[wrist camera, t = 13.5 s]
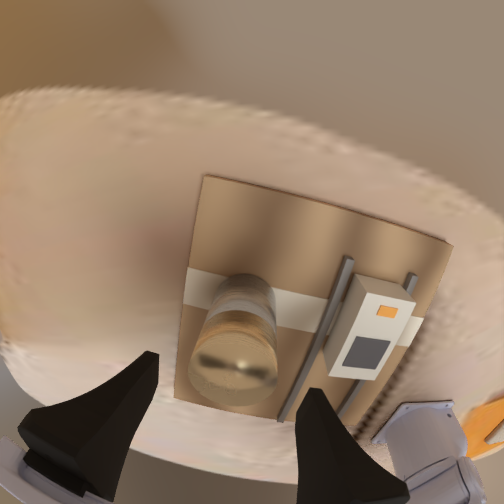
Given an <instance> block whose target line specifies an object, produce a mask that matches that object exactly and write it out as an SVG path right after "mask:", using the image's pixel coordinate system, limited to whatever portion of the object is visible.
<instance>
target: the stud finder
mask: <svg viewBox="0 0 504 504" xmlns="http://www.w3.org/2000/svg"><path fill="white" fill-rule="evenodd" d="M415 305H416V302H415V301H414V300H413V298H412V297H411V296H410V295H409V294H408V293H407V292H406V291H405V289H404V288H403V287H402V286H401V285H400V284H397V283H392V282H388V281H384V280H380V279H376V278H371V277H367V276H363V275H359V274H355V273H354V276H353V279H352V281H351V284H350V287H349V289H348V292H347V294H346V297H345V299H344V302H343V304H342V307H341V309H340V312H339V314H338V317H337V319H336V321H335V324H334V326H333V328H332V331H331V333H330V335H329V338H328V340H327V342H326V344H325V347H324V349H323V356H324V360H325V364H326V369H327V373H328V376H333V377H342V378H352V379H363V380H375V379H376V377H377V376H378V374H379V372H380V371H381V369H382V367H383V366H384V364H385V362H386V361H387V359H388V357H389V355H390V354H391V352H392V350H393V348H394V346H395V345H396V343H397V341H398V339H399V337H400V335H401V333H402V331H403V330H404V328H405V326H406V324H407V322H408V320H409V318H410V316H411V313H412V311H413V309H414V307H415Z"/></svg>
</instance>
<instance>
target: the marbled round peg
mask: <svg viewBox="0 0 504 504" xmlns="http://www.w3.org/2000/svg"><path fill="white" fill-rule="evenodd" d="M188 376H189V379H190V381H191V383H192V385H193V386H194V388H195V389H196V390H197V391H198V392H199V393H200V394H201V395H203V396H204V397H206V398H208V399H209V400H211V401H214V402H216V403H219V404H223V405H227V406H248V405H253V404H256V403H259V402H261V401H263V400H265V399H266V398H267V397H269V396H270V395H271V394H272V393H273V391H274V390H275V388H276V385H277V381H278V369H277V326H276V298H275V294H274V291H273V289H272V288H271V286H270V285H269V284H268V283H267V282H266V281H265V280H263V279H262V278H260V277H258V276H255V275H252V274H236V275H233V276H230V277H228V278H227V279H225V280H224V281H223V282H222V283H221V284H220V285H219V287H218V289H217V291H216V293H215V296H214V299H213V301H212V304H211V306H210V309H209V312H208V314H207V317H206V320H205V322H204V325H203V327H202V330H201V333H200V335H199V338H198V341H197V343H196V346H195V349H194V351H193V354H192V357H191V359H190V362H189V365H188Z"/></svg>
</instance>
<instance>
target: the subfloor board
mask: <svg viewBox="0 0 504 504" xmlns="http://www.w3.org/2000/svg"><path fill="white" fill-rule="evenodd" d="M453 247H454V246H452V245H451V244H449V243H447V242H445V241H443V240H440V239H437V238H434V237H432V236H429V235H426V234H423V233H420V232H418V231H415V230H412V229H409V228H406V227H403V226H400V225H397V224H394V223H391V222H388V221H385V220H381V219H378V218H375V217H372V216H369V215H365V214H362V213H359V212H356V211H352V210H349V209H345V208H342V207H339V206H335V205H331V204H328V203H324V202H321V201H317V200H313V199H310V198H306V197H302V196H298V195H294V194H290V193H286V192H282V191H278V190H274V189H270V188H266V187H262V186H258V185H253V184H249V183H244V182H240V181H235V180H231V179H226V178H221V177H216V176H212V175H205V176H204V179H203V184H202V189H201V194H200V199H199V204H198V210H197V215H196V221H195V227H194V233H193V239H192V245H191V251H190V258H189V264H188V269H187V276H186V283H185V290H184V298H183V308H182V316H181V324H180V333H179V343H178V352H177V363H176V374H175V387H174V398H176V399H180V400H184V401H187V402H191V403H195V404H199V405H203V406H207V407H211V408H216V409H220V410H225V411H229V412H234V413H240V414H245V415H251V416H256V417H263V418H269V419H276V420H277V422H282V423H283V422H284V421H293V422H296V412H297V410H298V408H299V406H300V404H301V403H302V401H303V399H304V397H305V395H306V393H307V391H308V389H309V388H310V387H313V388H321V389H322V390H323V392H324V394H325V395H326V397H327V399H328V401H329V402H330V404H331V406H332V407H333V409H334V411H335V412H336V414H337V416H338V417H339V419H340V420H341V422H342V424H343V425H351V426H356V424H357V423H358V422H359V420H360V419H361V418H362V416H363V415H364V414H365V412H366V411H367V410H368V408H369V407H370V406H371V404H372V403H373V401H374V400H375V399H376V397H377V396H378V394H379V393H380V391H381V390H382V388H383V387H384V385H385V384H386V382H387V381H388V379H389V378H390V376H391V374H392V373H393V371H394V370H395V368H396V366H397V365H398V363H399V362H400V360H401V358H402V356H403V355H404V353H405V351H406V350H407V348H408V347H409V346H410V344H411V342H412V340H413V338H414V337H415V335H416V333H417V331H418V329H419V327H420V325H421V323H422V321H423V319H424V316H425V314H426V312H427V310H428V307H429V305H430V303H431V301H432V299H433V297H434V294H435V292H436V290H437V288H438V285H439V283H440V281H441V278H442V276H443V273H444V271H445V268H446V266H447V263H448V261H449V258H450V255H451V252H452V250H453ZM354 273H355V274H359V275H363V276H367V277H371V278H376V279H380V280H384V281H388V282H392V283H397V284H400V285H401V286H402V287H403V288H404V289H405V291H406V292H407V293H408V294H409V295H410V296H411V297H412V298H413V300H414V301H415V302H416V305H415V307H414V309H413V311H412V313H411V316H410V318H409V320H408V322H407V324H406V326H405V328H404V330H403V331H402V333H401V335H400V337H399V339H398V341H397V343H396V345H395V346H394V348H393V350H392V352H391V354H390V355H389V357H388V359H387V361H386V362H385V364H384V366H383V367H382V369H381V371H380V372H379V374H378V376H377V377H376V379H375V380H363V379H352V378H342V377H333V376H328V373H327V369H326V364H325V360H324V356H323V349H324V347H325V344H326V342H327V340H328V338H329V335H330V333H331V331H332V328H333V326H334V324H335V321H336V319H337V317H338V314H339V312H340V309H341V307H342V304H343V302H344V299H345V297H346V294H347V292H348V289H349V287H350V284H351V281H352V279H353V276H354ZM236 274H252V275H255V276H258V277H260V278H262V279H263V280H265V281H266V282H267V283H268V284H269V285H270V286H271V288H272V289H273V291H274V294H275V298H276V326H277V369H278V381H277V385H276V388H275V390H274V391H273V393H272V394H271V395H270V396H269V397H267V398H266V399H265V400H263V401H261V402H259V403H256V404H253V405H248V406H227V405H223V404H219V403H216V402H214V401H211V400H209V399H208V398H206V397H204V396H203V395H201V394H200V393H199V392H198V391H197V390H196V389H195V388H194V386H193V385H192V383H191V381H190V379H189V376H188V365H189V362H190V359H191V357H192V354H193V351H194V349H195V346H196V343H197V341H198V338H199V335H200V333H201V330H202V327H203V325H204V322H205V320H206V317H207V314H208V312H209V309H210V306H211V304H212V301H213V299H214V296H215V293H216V291H217V289H218V287H219V285H220V284H221V283H222V282H223V281H224V280H225V279H227V278H228V277H230V276H233V275H236Z"/></svg>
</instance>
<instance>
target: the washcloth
mask: <svg viewBox="0 0 504 504" xmlns="http://www.w3.org/2000/svg"><path fill="white" fill-rule="evenodd" d="M502 441H504V420H503V421H502V422H501V423H500V424H499V425H498V426H497V427H496V428H495V429H494V430H493V431H492V432H491V433H490V434H489V435H488V436H487V437H486V439H485V442H486V443H487V444H493V443H496V442H502Z"/></svg>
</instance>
